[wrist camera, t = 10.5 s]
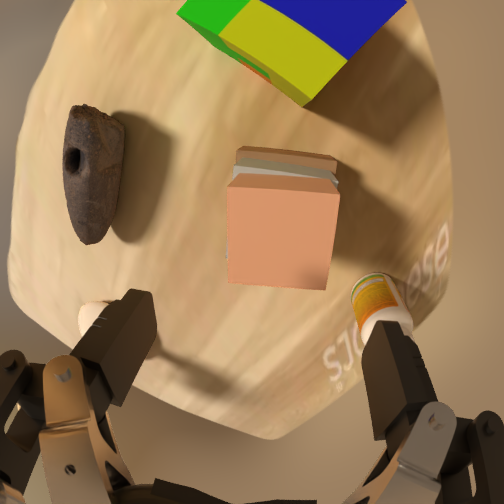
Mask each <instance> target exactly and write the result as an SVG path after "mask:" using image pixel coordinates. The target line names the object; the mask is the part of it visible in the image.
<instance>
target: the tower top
mask: <svg viewBox="0 0 504 504" xmlns="http://www.w3.org/2000/svg"><path fill="white" fill-rule="evenodd" d="M239 173H253V174H272V175H287V176H300V177H312V178H323V179H330V180H331V182H332V183H333V185H334V186H335V188H336V189H337V187H338V182H339V181H338V180H337V179H336V178H335V176H334V175H333V174H332V173H331V171H329V170H323V169H318V168H312V167H306V166H300V165H294V164H288V163H281V162H274V161H267V160H260V159H252V158H241V159H240V160H239V161H238V162H237V163H236V164H235V165H234V168H233V179H234V178H235V177H236V176H237V175H238V174H239ZM233 179H232V181H233ZM226 258H227V259H228V236H227V248H226Z"/></svg>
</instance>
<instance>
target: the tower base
mask: <svg viewBox="0 0 504 504" xmlns="http://www.w3.org/2000/svg"><path fill="white" fill-rule="evenodd" d="M241 158H252V159H260V160H267V161H274V162H281V163H288V164H294V165H300V166H306V167H312V168H318V169H323V170H329V171H331V173H332V174H333V175H334V176H335V174H336V167H337V161H336V160H335V159H334V158H332V157H331V156H329V155H322V154H315V153H308V152H300V151H292V150H283V149H273V148H262V147H251V146H242V147H241V148H239V149H238V150H237V151H236V163H237V162H238V161H239V160H240V159H241Z"/></svg>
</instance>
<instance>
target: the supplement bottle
mask: <svg viewBox="0 0 504 504" xmlns="http://www.w3.org/2000/svg"><path fill="white" fill-rule="evenodd" d="M351 302H352V305H353V309H354V312H355V316H356V320H357V323H358V327H359V331H360V334H361V338H362V341H363V343H364V345H366V343H367V341H368V339H369V336H370V334H371V332H372V330H373V327H374V325H375V323H376V321H378V320H388V321H398V322H399V324H400V326H401V329H402V331H403V333H404V335H408V336H409V337H410V338H411V339H412V340H413V341H414V338H413V335H412V331H413V319H412V317H411V314H410V312H409V310H408V308H407V307H406V305H405V303H404V301H403V299H402V297H401V295H400V293H399V291H398V289H397V287H396V285H395V283H394V282H393V280H392V279H391V278H390V277H389V276H387V275H386V274H383V273H371V274H368V275H365V276H363V277H362V278H360V279H359V280H358V281H357V282H356V284H355V285H354V287H353V288H352V291H351ZM414 342H415V341H414Z"/></svg>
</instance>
